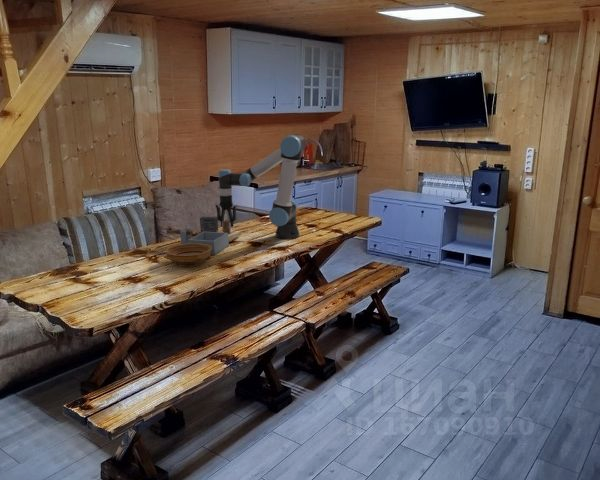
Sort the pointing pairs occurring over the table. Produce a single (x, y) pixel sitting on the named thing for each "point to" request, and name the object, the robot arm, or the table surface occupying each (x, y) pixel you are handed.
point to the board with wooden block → (226, 230)
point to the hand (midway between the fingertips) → (227, 231)
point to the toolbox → (207, 240)
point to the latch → (178, 231)
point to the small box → (209, 224)
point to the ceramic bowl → (188, 253)
